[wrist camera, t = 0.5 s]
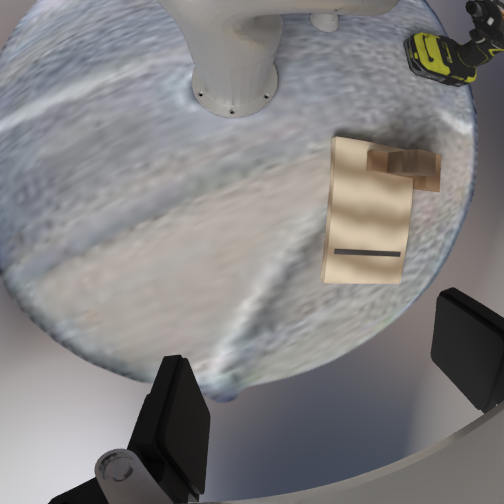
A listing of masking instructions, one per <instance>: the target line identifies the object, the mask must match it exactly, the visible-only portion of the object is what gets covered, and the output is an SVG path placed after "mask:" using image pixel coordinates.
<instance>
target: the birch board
mask: <svg viewBox="0 0 504 504" xmlns="http://www.w3.org/2000/svg"><path fill="white" fill-rule="evenodd" d="M370 150H376V151H382V152H387V153H389V152H396V151H403V150H404V149H400V148H396V147H391V146H386V145H382V144H377V143H371V142H366V141H361V140H355V139H349V138H343V137H334V138H332V148H331V169H330V185H329V200H328V212H327V224H326V234H325V244H324V254H323V262H322V271H321V280H322V281H323V283H400V280H401V275H402V269H403V264H404V258H405V252H406V245H407V238H408V231H409V222H410V213H411V203H412V191H413V179H412V178H407V177H401V176H396V175H390V174H384V173H378V172H372V171H367V151H370Z"/></svg>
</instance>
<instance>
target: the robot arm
mask: <svg viewBox="0 0 504 504" xmlns="http://www.w3.org/2000/svg"><path fill="white" fill-rule="evenodd" d="M157 1H158V3H159V4H160V5H161V6H162V8H163V9H164V10H165V11H166V12H167V13H168V14H169V15H170V16H171V17H172V18H173V19H174V20H175V22H176V23H177V24H178V26H179V28H180V30H181V32H182V34H183V36H184V39H185V41H186V44H187V46H188V49H189V52H190V54H191V57H192V59H193V62H194V64H195V68H194V71H193V75H192V88H193V92H194V94H195V96H196V98H197V100H198V101H199V103H200V104H201V105H202V106H203V107H204V108H205V109H207V110H208V111H210V112H211V113H213V114H216V115H218V116H222V117H226V118H241V117H246V116H250V115H252V114H254V113H257V112H258V111H260V110H261V109H263V108H264V107H265V106H266V105H267V104H268V103H269V102H270V101H271V99H272V98H273V96H274V94H275V92H276V88H277V85H278V75H277V70H276V68H275V65H274V63H273V62H274V59H275V56H276V52H277V49H278V46H279V43H280V39H281V36H282V31H283V22H282V16H281V14H290V13H319V14H337V15H352V16H377V15H381V14H384V13H386V12H388V11H390V10H391V9H392V8H394V7H395V6H396V5H397V3H398V2H399V0H157ZM200 94H203V96H201V97H200ZM265 96H267V97H268V98H267V99H266V98H265ZM232 111H233V112H234V114H231V112H232ZM431 357H432V360H433V362H434V363H435V364H436V365H437V366H438V367H439V368H440V369H441V370H442V371H443V372H444V373H445V375H446V376H448V377H449V379H450V380H451V381H452V382H453V383H454V384H455V385H456V386H457V387H458V389H459V390H460V391H461V392H462V393H463V394H464V395H465V396H466V397H467V399H468V400H469V401H470V402H471V403H472V404H473V405H474V406H475V407H476V408H477V409H478V410H481V411H482V412H483V413H484V415H482V416H481V417H479V418H478V419H476V420H475V421H473V422H472V423H470V424H468V425H467V426H466V427H464V428H462V429H460V430H459V431H457V432H455V433H453V434H452V435H450V436H448V437H446V438H445V439H443V440H441V441H439V442H437V443H435V444H433V445H431V446H429V447H427V448H425V449H423V450H421V451H419V452H417V453H415V454H413V455H410V456H408V457H406V458H404V459H401V460H399V461H397V462H394V463H392V464H389V465H387V466H384V467H382V468H379V469H376V470H374V471H371V472H368V473H365V474H362V475H359V476H356V477H353V478H350V479H347V480H343V481H340V482H336V483H332V484H329V485H325V486H321V487H317V488H313V489H308V490H304V491H299V492H294V493H289V494H283V495H277V496H270V497H264V498H256V499H247V500H237V501H225V502H209V503H188V502H199V494H204V491H205V479H206V466H207V453H208V442H209V441H208V440H209V431H210V413H209V410H208V407H207V405H206V403H205V401H204V398H203V396H202V393H201V391H200V389H199V386H198V384H197V381H196V379H195V376H194V374H193V371H192V369H191V366H190V363H189V361H188V359H187V358H182V356H181V355H172V356H165V357H164V358H163V360H162V363H161V365H160V368H159V371H158V373H157V376H156V378H155V381H154V384H153V386H152V389H151V392H150V394H148V395H147V396H146V398H145V400H144V403H143V406H142V408H141V411H140V414H139V416H138V419H137V422H136V425H135V427H134V430H133V433H132V436H131V439H130V441H129V444H128V447H127V449H114V450H111V451H108V452H107V453H105V454H103V455H102V456H101V457H100V458H99V459H98V461H97V463H96V465H95V476H96V477H95V478H93V479H91V480H89V481H87V482H85V483H83V484H81V485H79V486H77V487H75V488H73V489H71V490H69V491H67V492H65V493H63V494H60V495H58V496H56V497H55V498H53V499H52V500H51V501H50V502H49V503H48V504H504V318H503V317H501V316H500V315H498V314H497V313H495V312H494V311H492V310H490V309H489V308H487V307H486V306H484V305H483V304H481V303H479V302H478V301H476V300H474V299H473V298H471V297H469V296H468V295H466V294H464V293H463V292H461V291H459V290H458V289H456V288H454V287H452V288H449V289H447V290H444V291H442V292H440V294H439V296H438V298H437V302H436V314H435V324H434V334H433V341H432V348H431ZM496 404H498V405H497V406H496Z"/></svg>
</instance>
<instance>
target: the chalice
mask: <svg viewBox="0 0 504 504" xmlns="http://www.w3.org/2000/svg"><path fill="white" fill-rule="evenodd" d="M310 20H311V22H312V24H313V25H314V26H315V27H316V28H318V29H319V30H321V31H324V32H333V31H336V30H337V29H338V27H339V20H338V16H337V14H319V13H312V14H311V16H310Z"/></svg>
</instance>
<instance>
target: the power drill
mask: <svg viewBox="0 0 504 504" xmlns="http://www.w3.org/2000/svg"><path fill="white" fill-rule="evenodd" d="M466 11H467V12H468V13H469V14H470V16H471V19H472V21H473V23H474V24H475V29H473V30H471V31H470V32H469V35H470V38H471V40H470V41H469V42H468V43H466V44H464V45H461V44H458V43H457V42H456V41H454V40H453V39H450V38H447V37H445V36H435V35H432V34H426V33H418V34H413V35H412V36H410V38H408V39H407V40H405V41H404V47H405V51H406V55H407V59H408V63H409V68H410V70H411V71H412V72H413V73H415V74H416V75H418V76H421V77H424V78H428V79H431V80H435V81H438V82H439V83H442V84H446V85H452V86H456V87H460V86H463V85H466V84H469V83H470V82H472V81H474V80H475V78H476V67H477V66H480V65H482V64H485V63H487V62H489V61H490V60H491V59H492V58H493V57H494V55H495V54H497V53H499V52H503V51H504V4H503V3H502V2H500V1H499V0H493V2H492V1H490V0H475V1H470V0H469V1H468V2H467V3H466Z"/></svg>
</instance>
